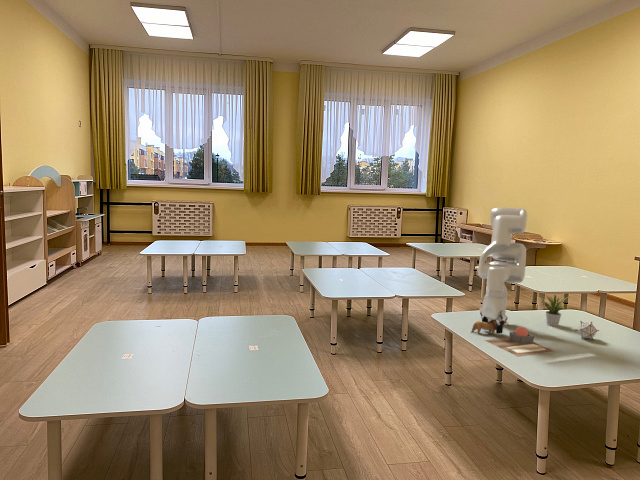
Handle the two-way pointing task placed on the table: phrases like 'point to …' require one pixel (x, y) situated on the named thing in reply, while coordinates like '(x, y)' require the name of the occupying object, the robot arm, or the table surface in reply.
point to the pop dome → (521, 331)
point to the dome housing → (521, 338)
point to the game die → (586, 330)
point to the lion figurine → (485, 326)
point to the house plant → (553, 311)
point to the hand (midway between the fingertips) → (491, 330)
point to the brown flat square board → (519, 347)
